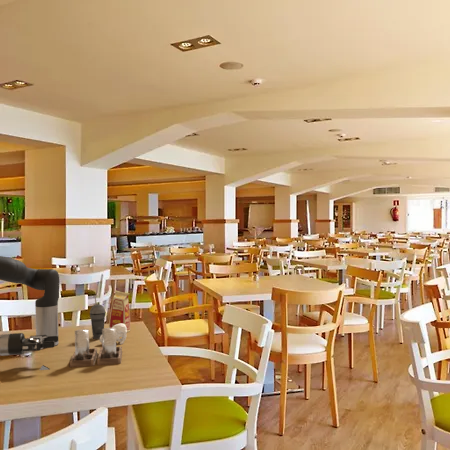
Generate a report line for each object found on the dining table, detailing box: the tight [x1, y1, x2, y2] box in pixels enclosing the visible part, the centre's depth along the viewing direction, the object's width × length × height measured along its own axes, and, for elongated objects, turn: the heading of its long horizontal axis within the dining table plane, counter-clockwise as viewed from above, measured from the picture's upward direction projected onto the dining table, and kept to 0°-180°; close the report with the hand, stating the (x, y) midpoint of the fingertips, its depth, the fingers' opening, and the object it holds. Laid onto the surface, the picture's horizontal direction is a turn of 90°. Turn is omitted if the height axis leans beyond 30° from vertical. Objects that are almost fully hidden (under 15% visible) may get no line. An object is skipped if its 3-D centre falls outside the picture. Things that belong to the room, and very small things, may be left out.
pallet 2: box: [96, 346, 123, 366], centre depth 186 cm, size 18×9×3 cm, turn 10°
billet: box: [101, 327, 117, 359], centre depth 181 cm, size 5×5×12 cm
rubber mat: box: [39, 364, 50, 371], centre depth 178 cm, size 9×9×1 cm
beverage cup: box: [89, 294, 106, 340], centre depth 224 cm, size 7×7×20 cm
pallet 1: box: [69, 347, 99, 368], centre depth 184 cm, size 18×9×3 cm, turn 10°
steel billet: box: [74, 328, 90, 360], centre depth 179 cm, size 5×5×12 cm
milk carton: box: [108, 290, 131, 333], centre depth 238 cm, size 9×9×20 cm
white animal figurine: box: [99, 323, 128, 345], centre depth 213 cm, size 6×8×12 cm
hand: (56, 341), depth 178 cm, fingers open, 8 cm apart
